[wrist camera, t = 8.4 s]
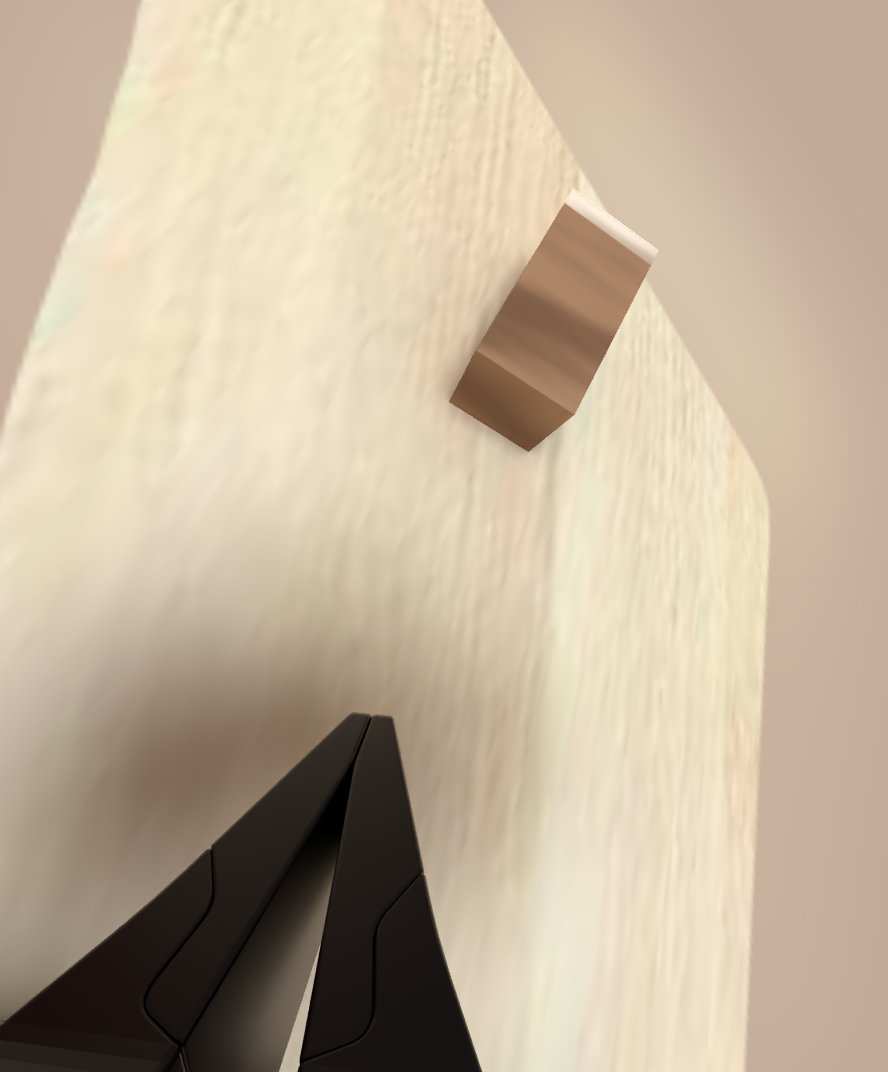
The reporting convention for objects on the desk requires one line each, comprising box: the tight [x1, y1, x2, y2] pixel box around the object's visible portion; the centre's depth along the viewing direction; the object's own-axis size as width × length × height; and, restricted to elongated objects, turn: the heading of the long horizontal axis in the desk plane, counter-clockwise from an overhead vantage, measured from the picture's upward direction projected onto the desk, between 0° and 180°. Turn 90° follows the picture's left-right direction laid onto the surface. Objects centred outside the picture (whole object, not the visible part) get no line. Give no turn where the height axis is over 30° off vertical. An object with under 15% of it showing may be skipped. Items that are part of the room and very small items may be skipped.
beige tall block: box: [449, 188, 658, 452], centre depth 22 cm, size 5×5×10 cm
